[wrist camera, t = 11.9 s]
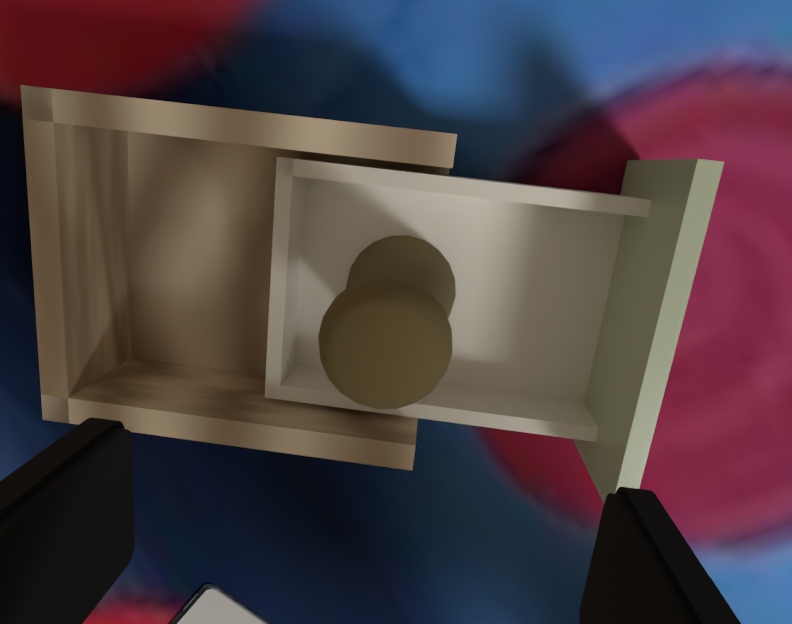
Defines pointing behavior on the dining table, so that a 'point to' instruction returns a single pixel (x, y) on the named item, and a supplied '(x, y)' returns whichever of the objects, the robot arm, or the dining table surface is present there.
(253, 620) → the smartphone
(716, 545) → the dining table surface
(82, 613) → the robot arm
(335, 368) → the cork
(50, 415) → the caddy
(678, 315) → the drawer
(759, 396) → the dining table surface
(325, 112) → the dining table surface
